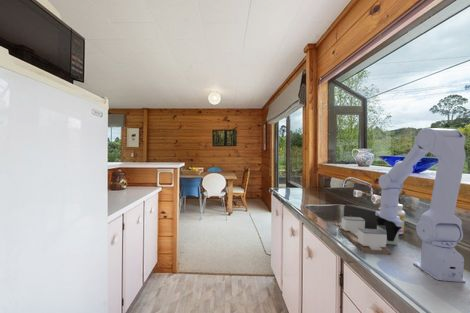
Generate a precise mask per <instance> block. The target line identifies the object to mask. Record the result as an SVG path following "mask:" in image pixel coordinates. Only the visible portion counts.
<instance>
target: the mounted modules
mask: <svg viewBox="0 0 470 313" xmlns="http://www.w3.org/2000/svg"><path fill="white" fill-rule="evenodd" d="M341 228H343V229H344V230H345V231H358V242H359V243H361V244H362V245H363V246H376V247H385V248H387V244H386V240H387V233H385V232H384V231H382V230H380V229H365V220H364V219H362V218H361V217H346V216H344V215H343V216H341Z"/></svg>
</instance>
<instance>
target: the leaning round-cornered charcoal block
mask: <svg viewBox="0 0 470 313" xmlns="http://www.w3.org/2000/svg"><path fill="white" fill-rule="evenodd" d="M376 211H377V210H376V209H373V208H369V207H366V206H360V205H354V204H345V205H344V206H343V216H346V217H361V218H362V219H364V220H365V229H377V225H378V224H377V221H376V220H375V218H379V216H376V215H375V214H376Z"/></svg>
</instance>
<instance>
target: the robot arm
mask: <svg viewBox="0 0 470 313" xmlns="http://www.w3.org/2000/svg"><path fill="white" fill-rule="evenodd" d="M466 138H467V136H466V135H465V134H464V133H463V132H462V131H460V130H458V129H456V128H431V127H424V128H422V129H420V130H419V132H418V133H417V134H416V136H414V144H413V146H412V147H411V148H410V150H409V151H408V153H407V154H406V156H405V157H404V158H403V160H400V161H399V160H398V161H397V162H395V163H394V165H393V166H392V167H391V169H390V170H389V171H388V172H387V173H384V174H381V175H380V176H379V177H378V178H379V179H378V186H379V188H381V192H380V193H381V194H380V195H381V197H380V207H379V208H380V209H379V210H376V214H375V215H376V216H379V218H375V220H376V221H377V224H378V225H385V227H386V231H387V240H388V241H394V239H395V237H396V234H397V233H398V231H399V230H400V229H401V228H402V227H403V221H401V220H400V217H399V216H397V214H398V204H399V197H400V196H399V195H400V194H402V193H401V191H402V189H403V187H404V185H405V184H404V181H406V179H407V178H408V177H409V176H410V175H412V173H413V172H414V168H413V167H414V166H415V165H416V164H417V163H418V162H419V161H421V159H423V158H424V157H425V156H426V155H427V154H428V153H430V154H431V155H433V156H434V157H435V158H436V159H437V165H436V166H437V167H436V172H435V178H434V182H433V188H432V194H431V199H430V204H429V205H430V206H429V209H428V210H426V211H424V212H423V213H422V214H421V215H420V219H419V220H418V222H417V223H416V225H415V231H416V233H417V235H418V237H419V240H420V241H421V251H420V252H421V255H420V262H419V261H413V265H415V266H416V267H417V268H419V269H421V270H422V271H424V272H425V273H426V274H428V275H429V276H431V277H432V278H434V280H438V281H445V282H446V281H447V282H448V281H450V282H457V283H459V282H462V283H466V282H467V280H466V279H465V278H464V268H465V259H464V256H463V255H462V254H461V253H460V252H458V251H457V249H456V248H455V247H457V243H460V242H461V241H462V240H463V238H464V231H463V228H462V224H463V221H462V220H461V219H460V218H459V217H457V215H455V212H456V206H457V202H458V201H457V200H458V196H459V192H460V186H461V182H462V175H463V172H464V167H465V162H466V156H467V154H466V151H465V150H466V149H465V143H466Z"/></svg>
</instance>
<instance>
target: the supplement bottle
mask: <svg viewBox="0 0 470 313" xmlns="http://www.w3.org/2000/svg"><path fill="white" fill-rule="evenodd" d="M403 208H404V205H403V204H402V203H401V204H400V203H398V214H397V216H399V217H400V220H401V221H403V227H402V228H401V229H400V230H399V234H398V235H403V234H404V231H405V230H404V229H405V219H406V212H405V210H403Z"/></svg>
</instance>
